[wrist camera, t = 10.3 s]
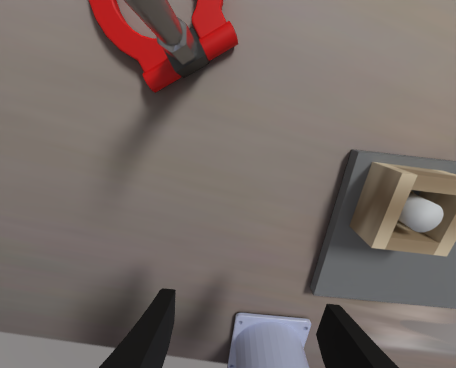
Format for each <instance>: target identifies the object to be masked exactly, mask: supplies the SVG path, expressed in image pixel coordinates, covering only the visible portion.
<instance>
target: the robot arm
mask: <svg viewBox="0 0 456 368" xmlns="http://www.w3.org/2000/svg"><path fill="white" fill-rule="evenodd" d="M174 316H175V290H173V289H163V288H162V289H161V290H160V291H159V293H158V294H157V296H156V297H155V299H154V300H153V302H152V303H151V304H150V306H149V307H148V309H147V310H146V311H145V313H144V314H143V315H142V317H141V318H140V319H139V321H138V322H137V323H136V324H135V326H134V327H133V328H132V330H131V331H130V332H129V333H128V335H127V336H126V337H125V338H124V339H123V341H122V342H121V343H120V344H119V345H118V346H117V348H116V349H115V350H114V351H113V353H111V355H110V356H109V357H108V358H107V359H106V360H105V361H104V362H103V364H102V365H101V366H100V367H99V368H162V366H163V363H164V360H165V357H166V354H167V351H168V347H169V343H170V339H171V334H172V330H173V325H174ZM310 327H311V322H310V320H309V319H305V318H294V317H283V316H272V315H262V314H251V313H237V314H236V317H235V323H234V329H233V335H232V341H231V347H230V354H229V360H228V366H227V368H309V365H308V362H307V359H306V356H305V352H304V349H303V348H304V345H305V342H306V339H307V336H308V333H309V330H310ZM316 336H317V340H318V344H319V348H320V351H321V355H322V359H323V362H324V365H325V367H326V368H399V367H398V366H397V365H396V364H395V363H394V362H393V361H392V360H391V359H390V358H389V357H388V356H387V355H386V354H385V353H384V352H383V351H382V350H381V349H380V348H379V347H378V346H377V345H376V344H375V343H374V342H373V341H372V339H371V338H370V337H369V336H368V335H367V334H366V333H365V332H364V331H363V330H362V329H361V328H360V327H359V325H358V324H357V323H356V322H355V321H354V320H353V319H352V318H351V317H350V316H349V315H348V314H347V313H346V311H345V310H344V309H343V308H342V307H341V306H340V305H333V304H327V305H326V308H325V310H324V313H323V316H322V319H321V322H320V325H319V328H318V330H317V333H316Z"/></svg>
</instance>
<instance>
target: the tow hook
mask: <svg viewBox="0 0 456 368" xmlns="http://www.w3.org/2000/svg"><path fill="white" fill-rule="evenodd" d="M124 1H125V2H126V3H127V4H128V6H129V7H130V8H131V9H132V10H133V11H134V12H135V13H136V14H137V15H138V16H139V17H140V19H141V20H142V21H143V22H144V23H145V24H146V25H147V26H148V27H149V28H150V29H151V30H152V32H153V33H154V34H155V35H156V36H157V39H152V38H149V37H145V36H142V35H140V34H139V33H137V32H136V31H134V30H133V29H132V28H131V27H130V26H129V25H128V24H127V23H126V21H125V19H124V18H123V16H122V14H121V12H120V9H119V7H118V4H117V1H116V0H89V2H90V5H91V8H92V11H93V13H94V16H95V19H96V20H97V22H98V24H99V25H100V27H101V28H102V30H103V31H104V33H105V35H106V36H107V37H108V38H109V39H110V40H111V41H112V42H113V43H114V44H115V45H116V46H117V47H118V48H119V49H120V50H121V51H123V52H124V53H126V54H127V55H129V56H131V57H132V58H134V59H136V60H137V61H138V62H139V64H140V65H141V67H142V69H143V71H144V73H143V77H144V79H145V81H146V83H147V85H148V86H149V87H150V89H151V90H152V91H153V92H155V93H156V92H157V91H159V90H161V89H162V88H164V87H166V86H168V85H169V84H171V83H173V82H174V81H176V80H178V79H179V78H181V77H183V78H184V77H186V76H188V75H189V74H191V73H193V72H195V71H196V70H198V69H200V68H201V67H203V66H205V65H207V64H208V63H209V61H210V60H212V59H214V58H215V57H217V56H219V55H220V54H222V53H224V52H226V51H227V50H229V49H231V48H232V47H234V46H236V45H237V44H238V40H237V35H236V32H235V30H234V28H233V26H232V24H231V23H230V21H228V22H226V20H225V18H224V16H223V13H222V11H221V10H222V6H223V0H197V4H196V9H195V11H194V13H193V15H192V24H193V26H194V28H195V30H196V32H197V34H198V36H199V39H198V37H197V35H196V33H195V31H194V29H193V28H188V26H187V24H186V23H184V22H183V21H182V20H181V19H179V18H178V17H176V15H175V13H174V11H173V9H172V8H171V6H170V4H169V2H168V0H124ZM208 60H209V61H208Z"/></svg>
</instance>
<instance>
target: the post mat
mask: <svg viewBox="0 0 456 368" xmlns="http://www.w3.org/2000/svg"><path fill="white" fill-rule="evenodd" d="M372 162H378V163H386V164H394V165H402V166H410V167H418V168H425V169H433V170H441V171H446V172H449V173H453V174H456V161H450V160H441V159H432V158H423V157H414V156H406V155H397V154H388V153H379V152H370V151H361V150H351V154H350V157H349V160H348V163H347V167H346V170H345V173H344V177H343V180H342V183H341V187H340V190H339V193H338V196H337V200H336V203H335V206H334V210H333V213H332V216H331V219H330V223H329V226H328V229H327V233H326V236H325V239H324V243H323V246H322V249H321V252H320V256H319V259H318V262H317V266H316V269H315V272H314V276H313V279H312V282H311V285H310V288H311V290H312V293H313V295H317V296H327V297H338V298H348V299H359V300H370V301H380V302H391V303H402V304H412V305H423V306H433V307H444V308H455V309H456V241H455V243H454V245H453V247H452V248H451V250H450V252H449V254H448V256H438V255H429V254H420V253H412V252H403V251H394V250H385V249H376V248H371V247H370V246H369V245H368V244H367V243H366V242H365V241H364V240H363V239H362V238H361V237H360V236H359V235H358V234H357V233H356V232H355V231H354V230H353V229H352V228H351V227H350V223H351V220H352V217H353V214H354V212H355V209H356V206H357V203H358V200H359V198H360V195H361V192H362V189H363V186H364V184H365V181H366V178H367V175H368V172H369V170H370V167H371V164H372ZM420 192H421V191H417V190H411V192H410V194H409V196H408V198H407V201H406V203H405V205H404V207H403V210H402V212H401V214H400V217H399V219H398V221H400V222H402V223H403V224H405V225H406V226H408V227H409V228H411V229H412V230H414V231H416V232H427V231H430V230H432V229H434V228H435V227H437V226H438V225H439V224H440V222H441V221H442V218H443V209H442V208H441V207H440V206H439V205H437V204H435V203H433V202H431V201H429V200H427V199H424V198H422V197H420V196H419V194H420Z"/></svg>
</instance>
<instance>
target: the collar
mask: <svg viewBox="0 0 456 368" xmlns="http://www.w3.org/2000/svg"><path fill="white" fill-rule="evenodd" d="M411 190H417V191H421V192H420V194H419V196H420V197H422V198H424V199H427V200H429V201H431V202H433V203H435V204H437V205H439V206H440V207H441V208H442V209H443V218H442V221H441V222H440V224H439V225H438V226H437V227H435V228H434V229H432V230H430V231H427V232H416V231H414V230H412V229H411V228H409V227H408V226H406V225H405V224H403V223H402V222H400V221H398V219H399V217H400V214H401V212H402V210H403V207H404V205H405V203H406V201H407V198H408V196H409V194H410V192H411ZM350 227H351V228H352V229H353V230H354V231H355V232H356V233H357V234H358V235H359V236H360V237H361V238H362V239H363V240H364V241H365V242H366V243H367V244H368V245H369V246H370V247H371V248H376V249H385V250H394V251H403V252H412V253H420V254H429V255H438V256H448V254H449V252H450V250H451V248H452V247H453V245H454V243H455V241H456V174H453V173H449V172H446V171H441V170H433V169H425V168H418V167H410V166H402V165H394V164H386V163H378V162H372V164H371V167H370V170H369V172H368V175H367V178H366V181H365V184H364V186H363V189H362V192H361V195H360V198H359V200H358V203H357V206H356V209H355V212H354V214H353V217H352V220H351V223H350Z"/></svg>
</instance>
